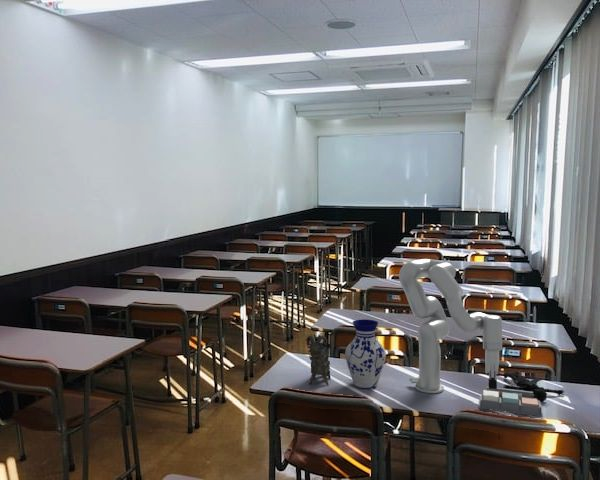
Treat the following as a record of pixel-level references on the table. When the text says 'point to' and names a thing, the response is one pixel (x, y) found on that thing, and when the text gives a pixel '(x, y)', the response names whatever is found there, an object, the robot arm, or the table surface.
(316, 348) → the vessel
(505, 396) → the teal key
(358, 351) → the vase
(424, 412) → the table surface
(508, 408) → the keypad
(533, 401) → the terracotta key
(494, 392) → the cream key
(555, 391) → the toy
